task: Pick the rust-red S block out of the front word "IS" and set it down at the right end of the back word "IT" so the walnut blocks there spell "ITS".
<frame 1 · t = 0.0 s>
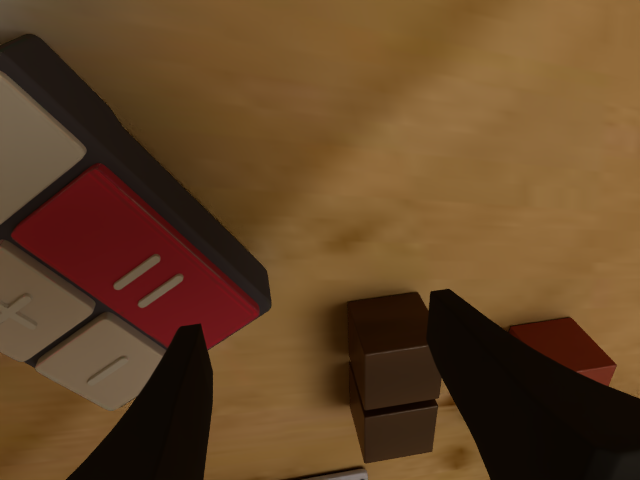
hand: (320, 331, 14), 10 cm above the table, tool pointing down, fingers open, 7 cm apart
S block: (534, 345, 31), on the table
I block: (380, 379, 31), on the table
T block: (382, 324, 28), on the table
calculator: (90, 234, 22), on the table
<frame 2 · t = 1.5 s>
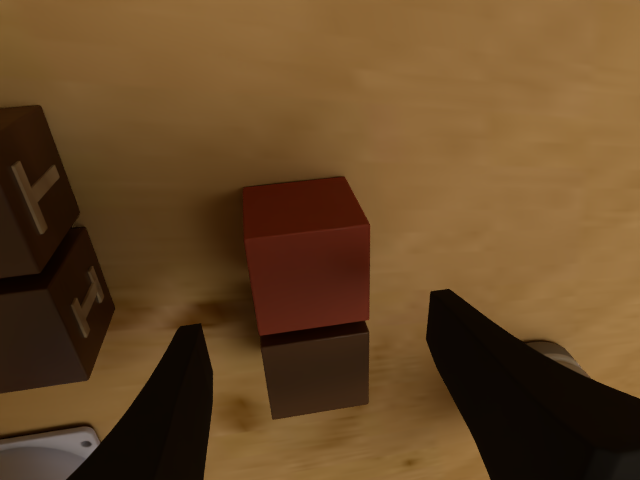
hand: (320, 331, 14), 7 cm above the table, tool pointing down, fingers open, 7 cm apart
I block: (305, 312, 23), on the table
travel mug: (517, 373, 28), on the table
S block: (298, 226, 20), on the table
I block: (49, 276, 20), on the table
T block: (1, 168, 17), on the table
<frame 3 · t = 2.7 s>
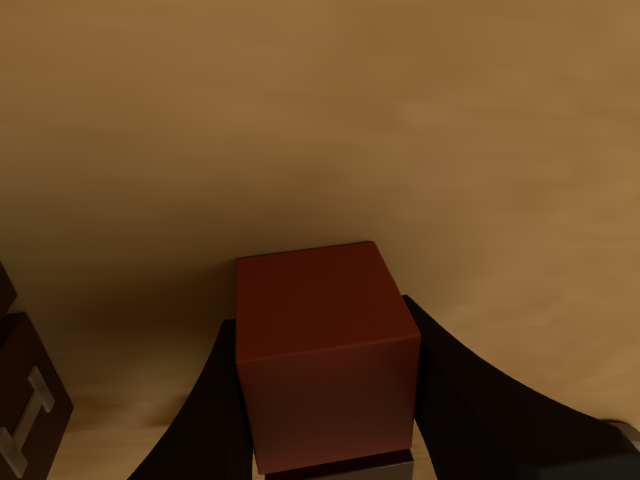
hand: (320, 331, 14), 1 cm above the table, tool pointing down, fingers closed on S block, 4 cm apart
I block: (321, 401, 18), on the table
travel mug: (575, 455, 23), on the table
S block: (310, 303, 15), on the table, touching gripper
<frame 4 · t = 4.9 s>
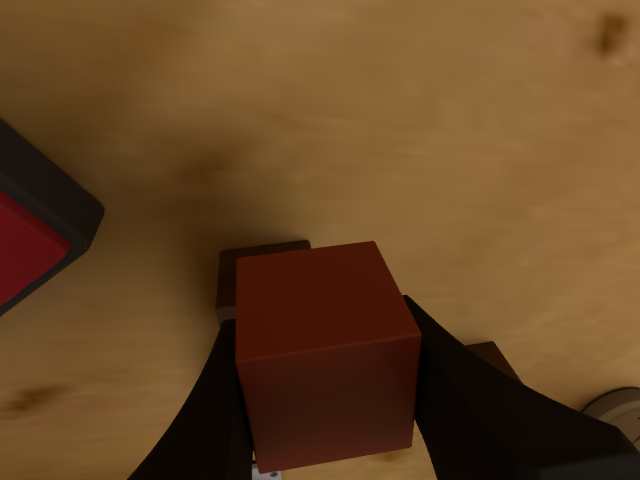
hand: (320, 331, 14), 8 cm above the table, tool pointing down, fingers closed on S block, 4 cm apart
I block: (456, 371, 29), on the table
travel mug: (608, 412, 34), on the table
S block: (310, 303, 15), point 7 cm above the table, touching gripper
T block: (269, 281, 23), on the table
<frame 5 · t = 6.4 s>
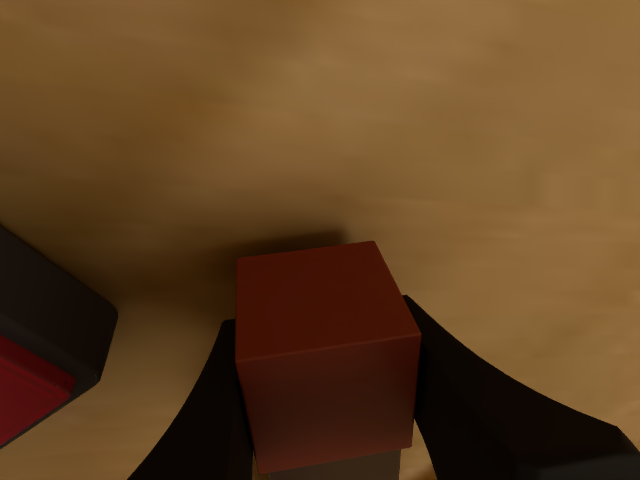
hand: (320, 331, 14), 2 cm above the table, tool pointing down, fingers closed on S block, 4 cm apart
S block: (310, 302, 15), point 1 cm above the table, touching gripper
T block: (317, 382, 19), on the table
when the fingers open (1 cm above the table, at t = 7.2 s): S block stays where it is, on the table.
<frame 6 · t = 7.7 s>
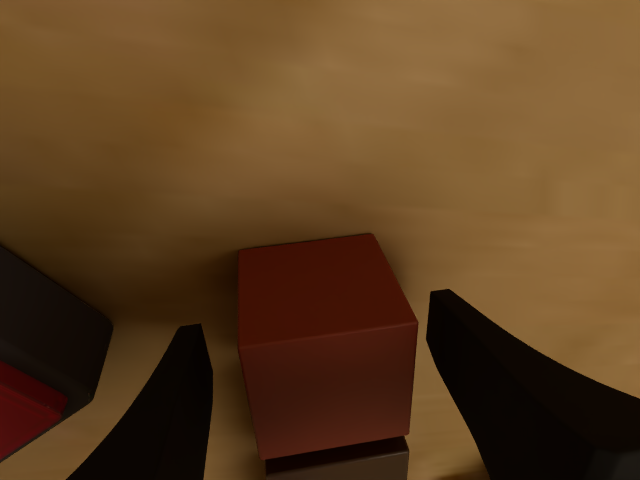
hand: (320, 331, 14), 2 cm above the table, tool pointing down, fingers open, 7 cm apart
S block: (310, 295, 16), on the table
T block: (320, 395, 18), on the table
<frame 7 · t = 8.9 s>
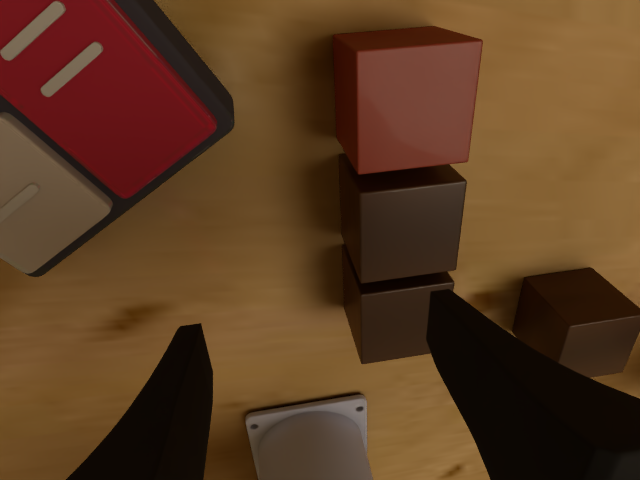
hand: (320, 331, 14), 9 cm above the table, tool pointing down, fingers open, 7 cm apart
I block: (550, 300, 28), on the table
S block: (383, 84, 20), on the table
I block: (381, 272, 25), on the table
T block: (382, 191, 22), on the table
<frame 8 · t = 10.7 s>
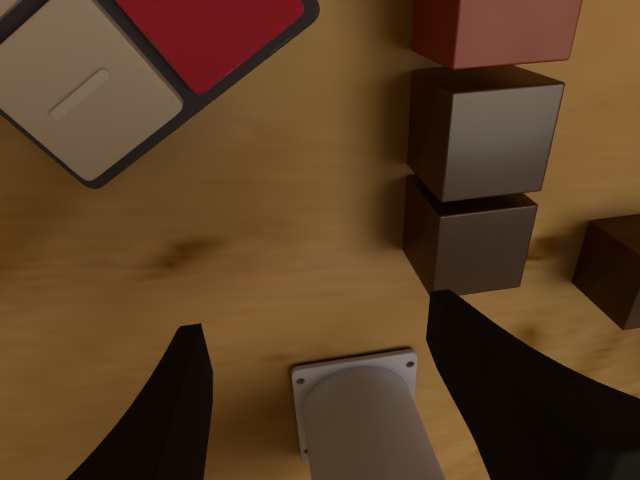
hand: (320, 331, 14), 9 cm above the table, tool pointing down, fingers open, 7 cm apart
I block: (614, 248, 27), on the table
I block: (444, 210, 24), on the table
T block: (454, 115, 21), on the table
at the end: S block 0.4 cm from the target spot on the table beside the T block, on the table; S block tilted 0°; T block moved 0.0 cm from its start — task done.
